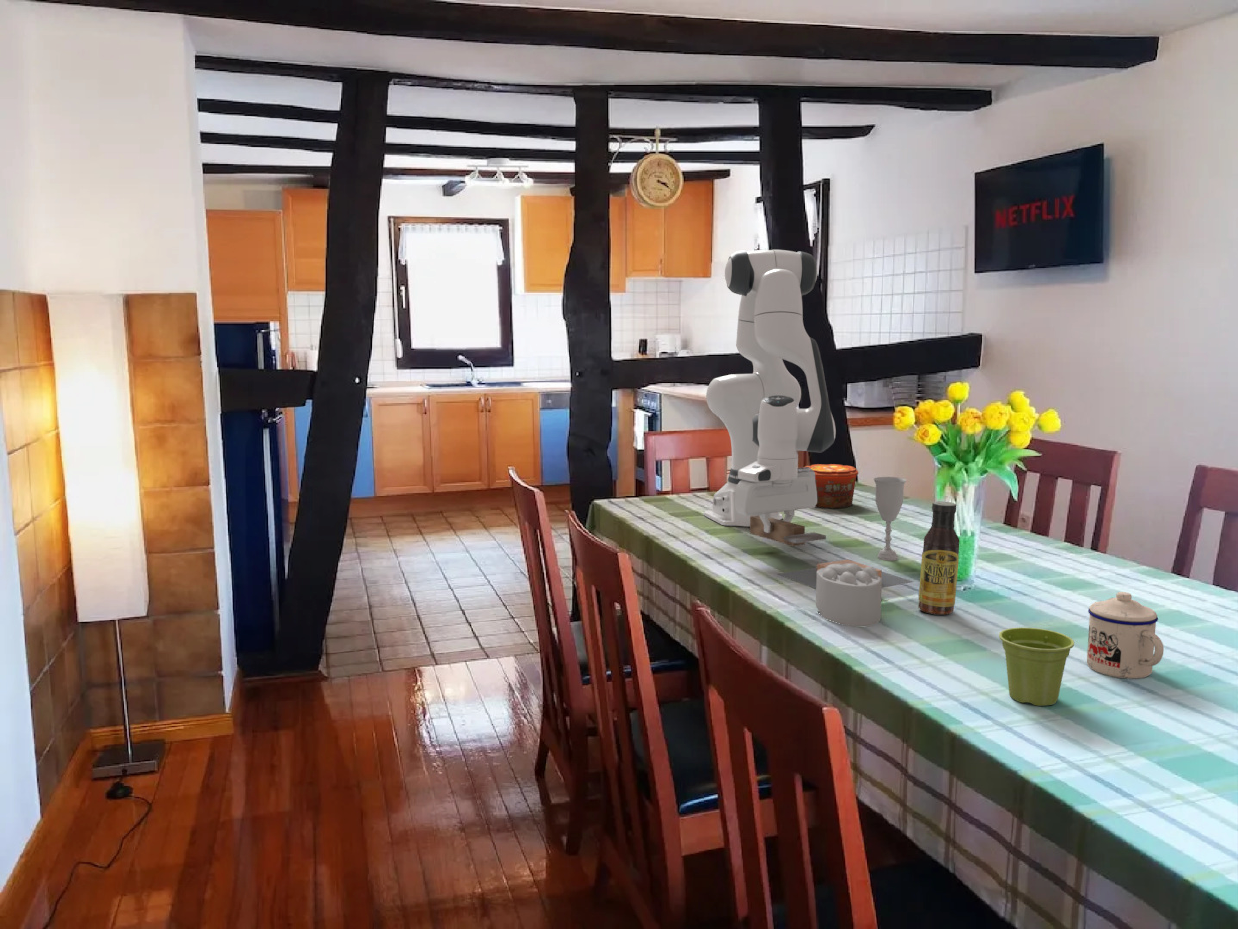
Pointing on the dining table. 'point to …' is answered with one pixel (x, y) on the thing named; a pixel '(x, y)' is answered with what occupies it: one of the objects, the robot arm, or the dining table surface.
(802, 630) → the dining table surface
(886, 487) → the chalice
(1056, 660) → the plant pot
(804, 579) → the mat
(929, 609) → the sauce bottle
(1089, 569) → the dining table surface
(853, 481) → the food container
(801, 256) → the robot arm
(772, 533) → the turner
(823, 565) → the tile
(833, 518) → the dining table surface
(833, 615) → the lumpy-topped squat cylinder
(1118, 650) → the teacup with lid
